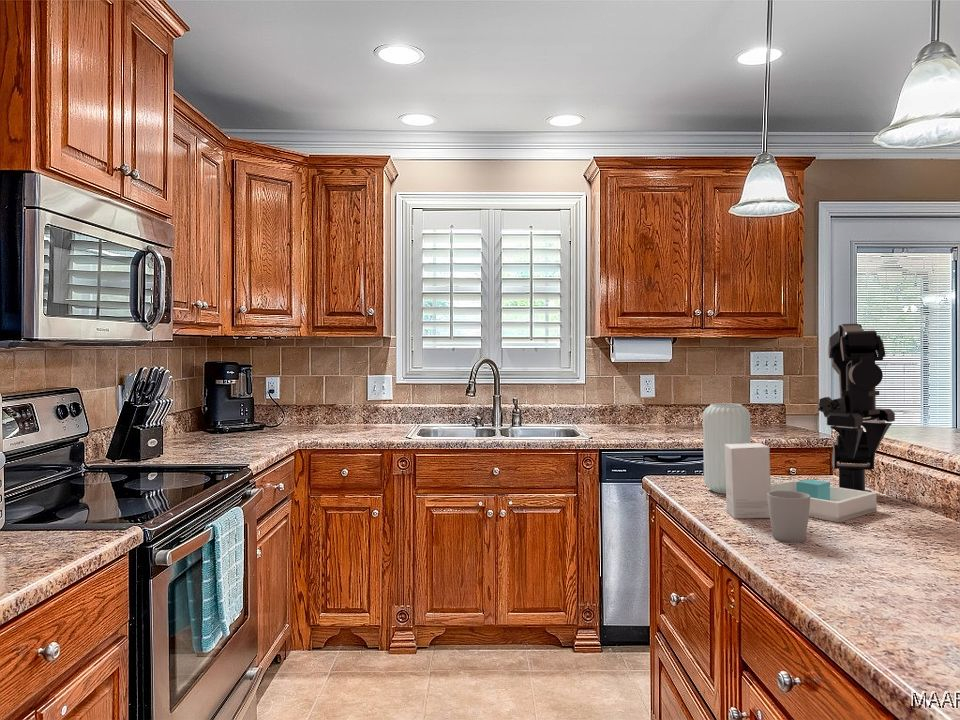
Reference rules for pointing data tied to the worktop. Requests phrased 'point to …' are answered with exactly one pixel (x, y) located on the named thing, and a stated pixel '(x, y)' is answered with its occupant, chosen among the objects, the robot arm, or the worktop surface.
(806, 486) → the teal block
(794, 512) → the cup
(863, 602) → the worktop surface
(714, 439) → the vase
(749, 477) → the skincare box
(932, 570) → the worktop surface
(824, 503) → the grey tray
